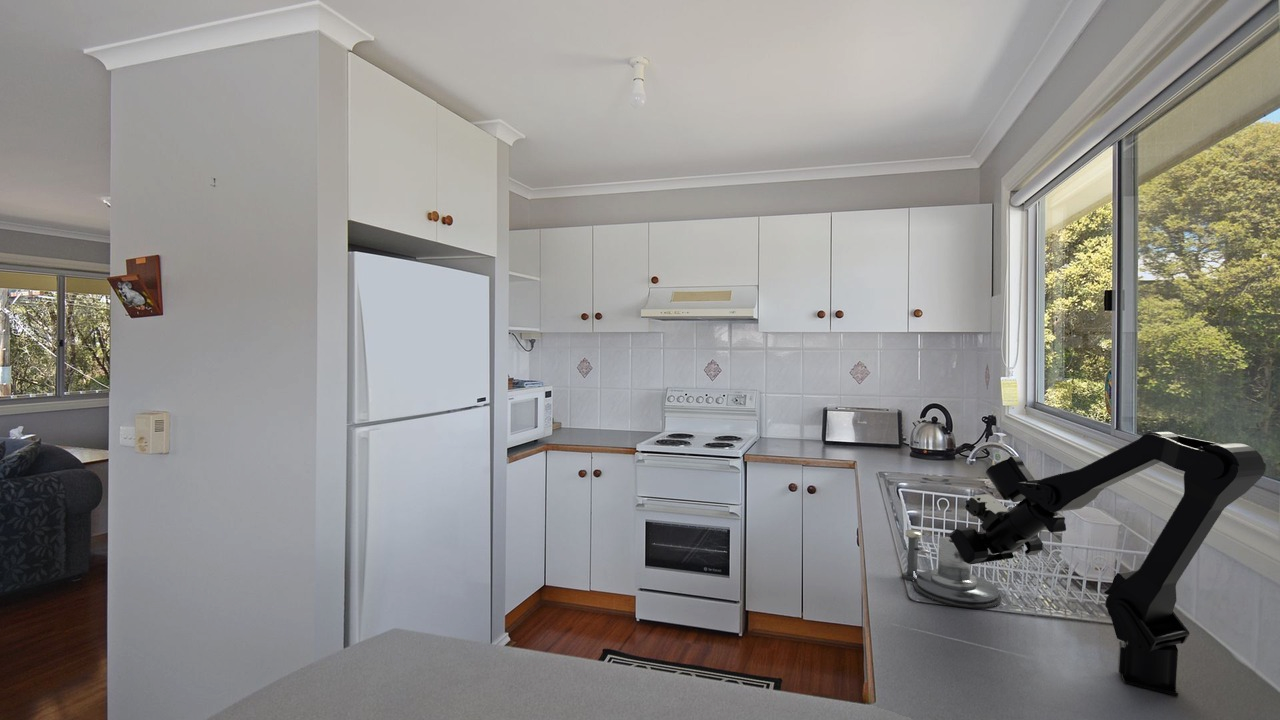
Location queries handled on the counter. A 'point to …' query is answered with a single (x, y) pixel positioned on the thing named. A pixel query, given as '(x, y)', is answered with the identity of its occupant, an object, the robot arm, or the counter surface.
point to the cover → (952, 568)
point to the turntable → (959, 593)
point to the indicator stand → (913, 553)
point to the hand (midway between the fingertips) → (969, 561)
